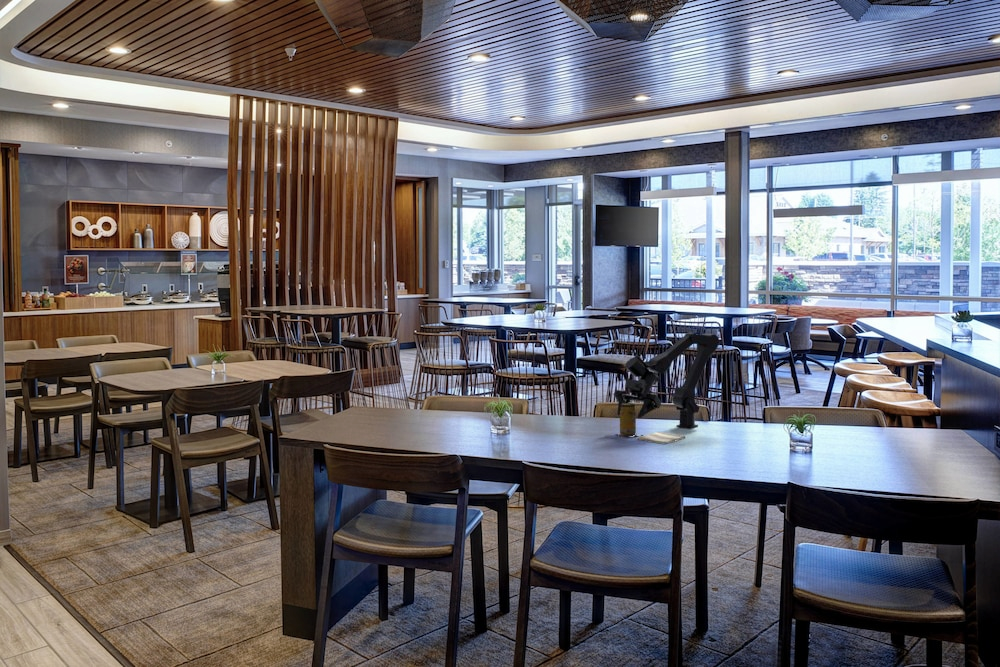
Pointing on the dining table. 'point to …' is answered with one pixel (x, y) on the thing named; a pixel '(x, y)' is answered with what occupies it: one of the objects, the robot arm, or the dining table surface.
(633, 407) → the condiment
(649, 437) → the serving board
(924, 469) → the dining table surface
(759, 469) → the dining table surface
